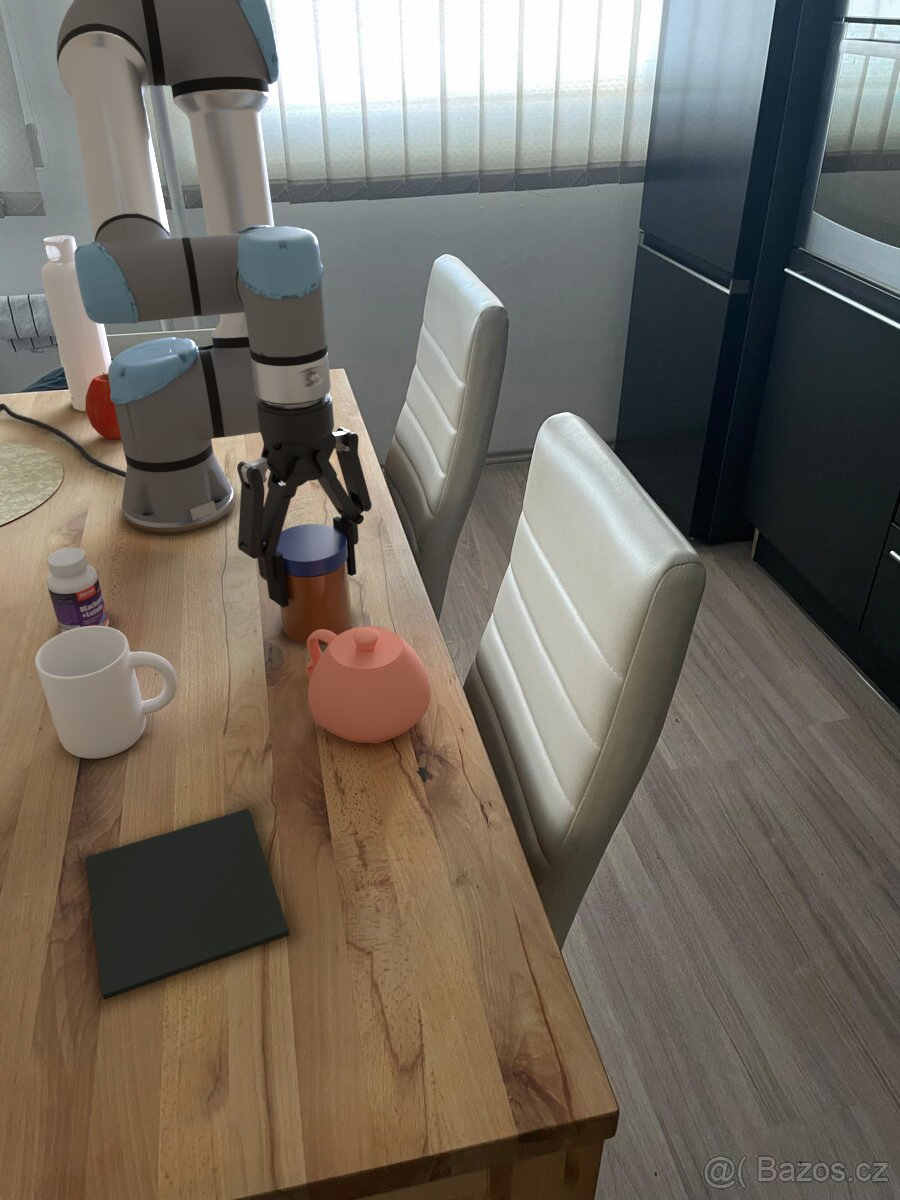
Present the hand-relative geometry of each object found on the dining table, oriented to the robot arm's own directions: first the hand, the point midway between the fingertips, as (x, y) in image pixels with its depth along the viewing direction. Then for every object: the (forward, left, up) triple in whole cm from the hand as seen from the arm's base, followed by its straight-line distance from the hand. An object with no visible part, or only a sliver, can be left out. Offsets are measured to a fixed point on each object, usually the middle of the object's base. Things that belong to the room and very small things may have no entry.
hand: (313, 585), depth 104 cm
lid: (0, 0, +5) cm, 5 cm away
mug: (+10, -23, -6) cm, 26 cm away
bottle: (-82, -17, -6) cm, 84 cm away
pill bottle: (-10, -25, -6) cm, 28 cm away
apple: (-66, -15, -6) cm, 68 cm away
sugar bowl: (+17, 0, -6) cm, 18 cm away
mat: (+33, -21, -5) cm, 39 cm away
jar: (0, 0, -5) cm, 5 cm away
